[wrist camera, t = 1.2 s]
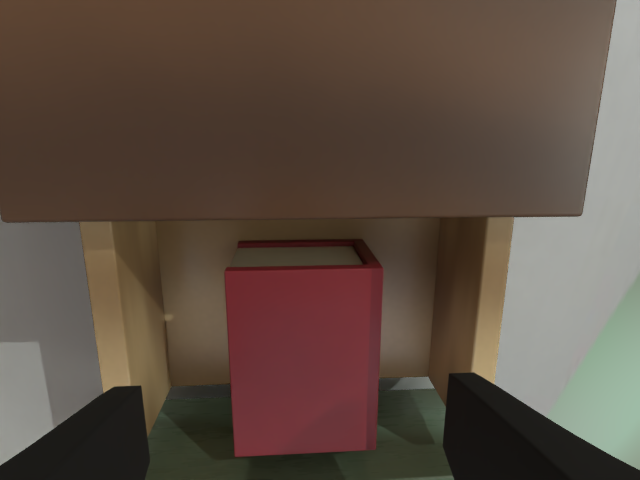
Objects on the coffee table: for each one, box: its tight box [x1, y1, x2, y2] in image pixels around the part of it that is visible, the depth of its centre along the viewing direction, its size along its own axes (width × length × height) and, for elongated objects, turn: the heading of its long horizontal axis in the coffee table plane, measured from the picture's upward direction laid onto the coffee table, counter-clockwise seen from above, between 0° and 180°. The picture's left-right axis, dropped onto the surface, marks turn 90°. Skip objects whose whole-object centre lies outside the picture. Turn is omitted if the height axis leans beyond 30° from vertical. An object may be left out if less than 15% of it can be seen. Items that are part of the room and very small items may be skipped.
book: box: [224, 239, 384, 457], centre depth 14 cm, size 6×4×3 cm
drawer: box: [79, 217, 514, 480], centre depth 14 cm, size 17×13×5 cm
